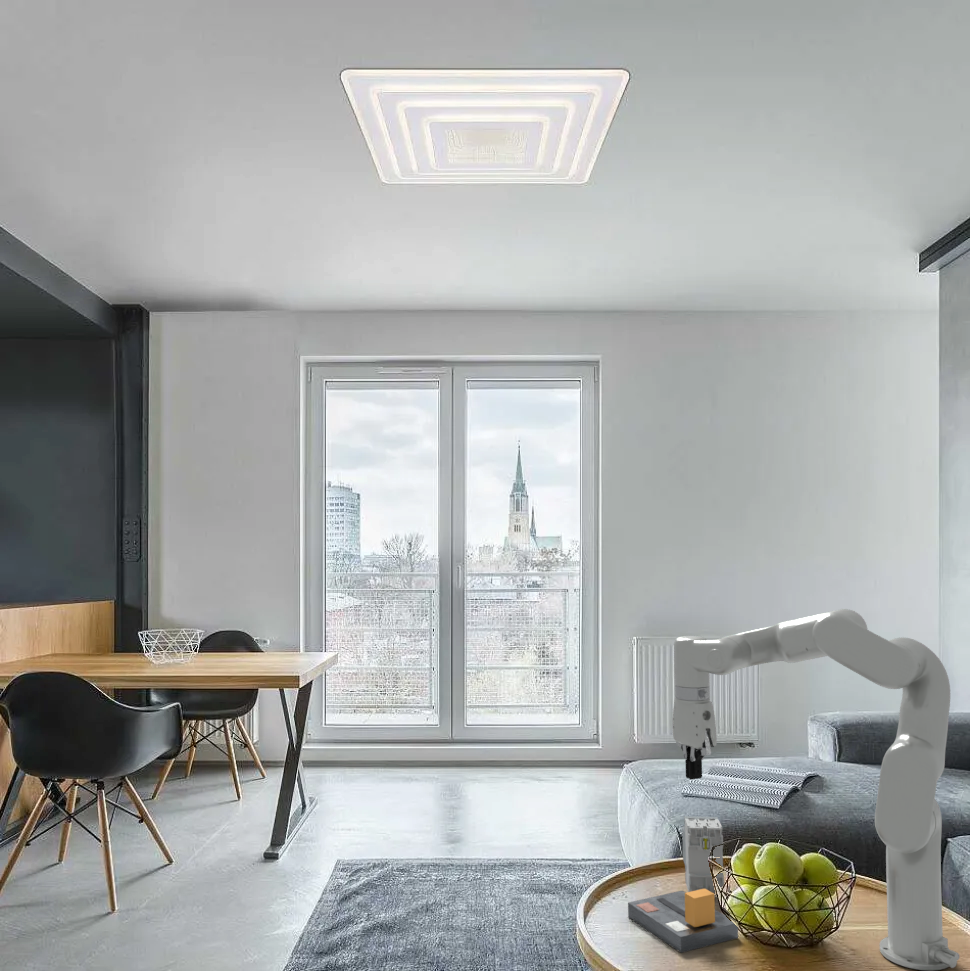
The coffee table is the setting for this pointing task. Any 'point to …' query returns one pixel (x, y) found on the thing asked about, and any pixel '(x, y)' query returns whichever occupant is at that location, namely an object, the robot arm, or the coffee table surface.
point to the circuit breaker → (701, 851)
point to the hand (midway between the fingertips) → (693, 777)
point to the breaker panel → (679, 922)
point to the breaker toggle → (699, 907)
